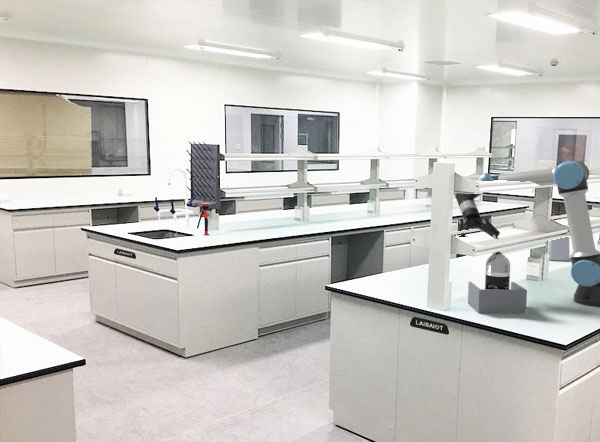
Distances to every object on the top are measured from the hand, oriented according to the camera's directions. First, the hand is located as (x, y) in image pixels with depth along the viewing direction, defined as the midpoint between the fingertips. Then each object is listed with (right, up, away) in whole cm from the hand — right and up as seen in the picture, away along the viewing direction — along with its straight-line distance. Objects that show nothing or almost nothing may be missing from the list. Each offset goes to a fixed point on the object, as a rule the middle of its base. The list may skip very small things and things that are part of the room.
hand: (483, 248), depth 254 cm
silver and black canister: (+2, -26, -9) cm, 27 cm away
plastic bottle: (+81, -12, +107) cm, 134 cm away
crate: (+2, -26, -9) cm, 27 cm away
